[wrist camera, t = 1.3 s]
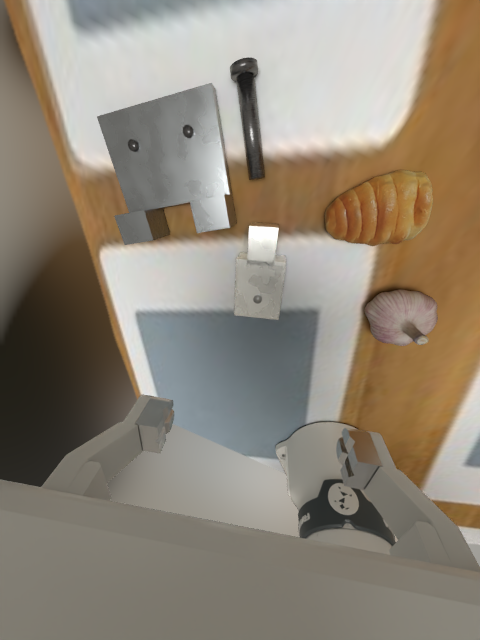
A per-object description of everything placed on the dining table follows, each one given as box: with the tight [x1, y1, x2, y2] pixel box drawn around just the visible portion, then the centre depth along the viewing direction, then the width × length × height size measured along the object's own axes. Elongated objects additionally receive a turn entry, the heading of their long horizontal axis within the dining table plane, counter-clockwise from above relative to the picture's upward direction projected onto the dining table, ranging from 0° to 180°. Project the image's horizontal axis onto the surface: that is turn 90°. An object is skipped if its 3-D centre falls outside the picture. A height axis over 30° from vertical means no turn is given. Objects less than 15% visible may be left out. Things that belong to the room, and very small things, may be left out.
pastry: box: [325, 170, 433, 246], centre depth 24 cm, size 9×7×4 cm
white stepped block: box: [234, 222, 286, 320], centre depth 29 cm, size 10×6×4 cm, turn 177°
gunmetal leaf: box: [97, 83, 237, 245], centre depth 25 cm, size 12×12×4 cm
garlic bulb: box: [365, 289, 438, 346], centre depth 27 cm, size 8×7×8 cm
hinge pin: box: [230, 58, 265, 180], centre depth 23 cm, size 9×2×2 cm, turn 9°
